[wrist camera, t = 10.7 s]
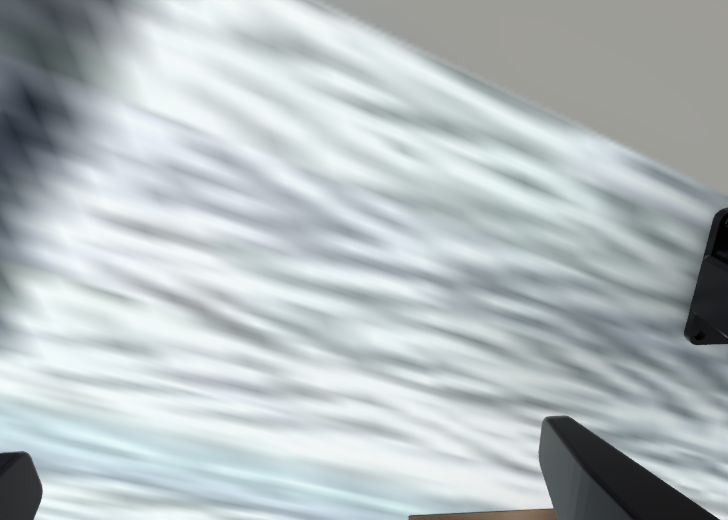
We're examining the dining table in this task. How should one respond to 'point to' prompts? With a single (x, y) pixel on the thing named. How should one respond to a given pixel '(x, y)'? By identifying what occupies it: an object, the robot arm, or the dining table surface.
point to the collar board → (494, 515)
